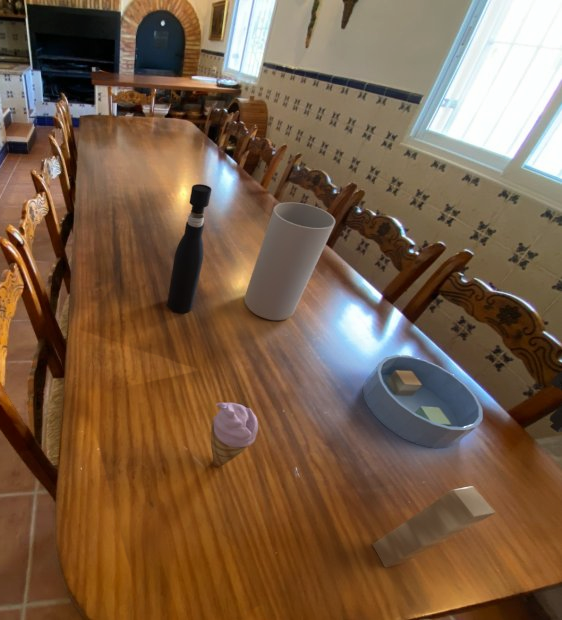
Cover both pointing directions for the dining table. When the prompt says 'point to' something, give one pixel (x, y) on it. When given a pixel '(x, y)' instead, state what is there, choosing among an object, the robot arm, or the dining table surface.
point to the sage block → (433, 415)
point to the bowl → (422, 402)
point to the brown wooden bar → (433, 526)
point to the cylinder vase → (287, 259)
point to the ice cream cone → (232, 432)
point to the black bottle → (189, 254)
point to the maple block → (403, 382)
